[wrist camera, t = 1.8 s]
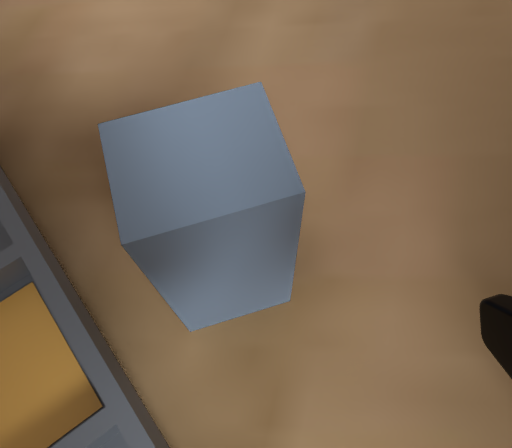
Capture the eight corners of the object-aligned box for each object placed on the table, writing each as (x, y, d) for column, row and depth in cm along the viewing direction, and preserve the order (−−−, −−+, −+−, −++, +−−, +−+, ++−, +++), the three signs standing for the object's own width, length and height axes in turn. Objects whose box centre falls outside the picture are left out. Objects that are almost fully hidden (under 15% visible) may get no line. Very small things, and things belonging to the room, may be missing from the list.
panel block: (290, 300, 22) (305, 192, 12) (190, 331, 22) (121, 244, 12) (265, 229, 24) (260, 81, 14) (171, 256, 23) (97, 123, 13)
